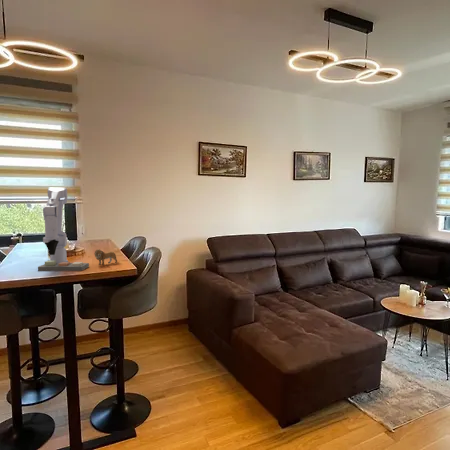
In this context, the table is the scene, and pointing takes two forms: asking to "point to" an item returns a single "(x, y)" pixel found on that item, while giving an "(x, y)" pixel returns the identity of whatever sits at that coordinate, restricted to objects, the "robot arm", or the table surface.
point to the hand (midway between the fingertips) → (52, 254)
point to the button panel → (63, 267)
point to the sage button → (50, 263)
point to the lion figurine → (104, 256)
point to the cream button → (77, 264)
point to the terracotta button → (64, 263)
